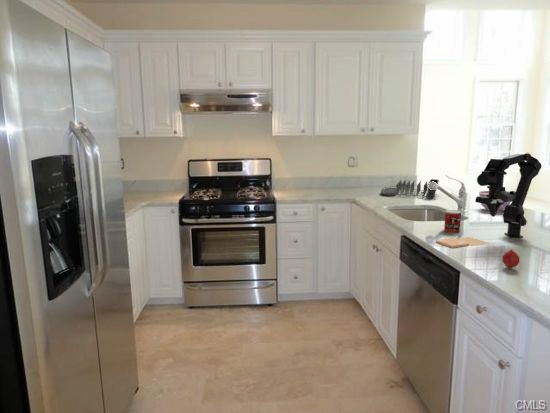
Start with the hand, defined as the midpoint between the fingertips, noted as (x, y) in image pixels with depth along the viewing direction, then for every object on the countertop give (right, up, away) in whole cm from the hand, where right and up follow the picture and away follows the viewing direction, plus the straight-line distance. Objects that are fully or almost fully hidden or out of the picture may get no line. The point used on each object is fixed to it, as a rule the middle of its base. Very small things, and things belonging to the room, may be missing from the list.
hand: (493, 216), depth 189 cm
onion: (-14, -20, -36) cm, 43 cm away
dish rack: (+7, +14, +138) cm, 139 cm away
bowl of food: (+41, +2, +72) cm, 83 cm away
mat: (-11, -12, 0) cm, 17 cm away
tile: (-17, -13, -2) cm, 21 cm away
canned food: (-11, -9, +20) cm, 25 cm away
